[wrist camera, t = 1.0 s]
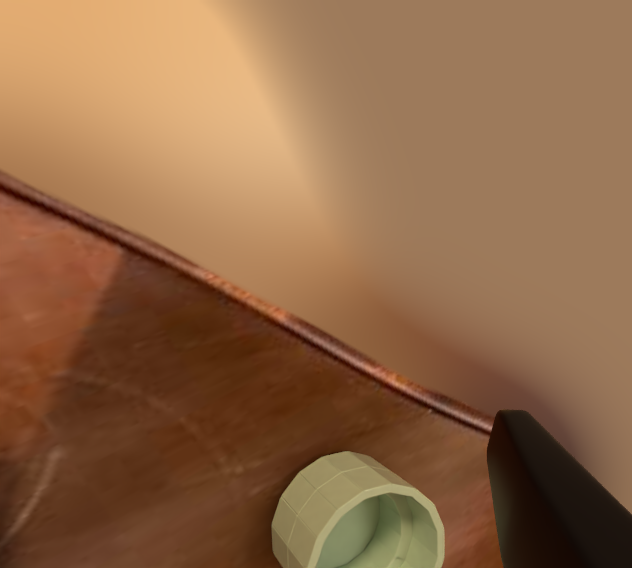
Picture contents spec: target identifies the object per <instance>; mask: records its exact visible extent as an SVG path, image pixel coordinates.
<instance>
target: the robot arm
mask: <svg viewBox="0 0 632 568" xmlns="http://www.w3.org/2000/svg"><path fill="white" fill-rule="evenodd" d="M487 464H488V470H489V477H490V484H491V491H492V498H493V505H494V512H495V519H496V526H497V532H498V539H499V546H500V552H501V558H502V562H503V567H504V568H632V514H631V513H630V512H629V511H628V510H627V509H626V508H625V507H623V506H622V505H621V504H620V503H619V502H618V501H617V500H616V499H615V498H614V497H613V496H612V495H611V494H610V493H609V492H608V491H607V490H606V489H605V488H604V487H603V486H602V485H601V484H600V483H599V482H598V481H597V480H596V479H595V478H594V477H593V476H592V475H591V474H590V473H589V472H588V471H587V470H586V469H585V468H584V467H583V466H582V465H581V464H580V463H579V462H578V461H577V460H576V459H575V458H574V457H573V456H572V455H571V454H570V453H569V452H568V451H567V450H566V449H565V448H564V447H563V446H562V445H561V444H560V443H559V442H558V441H557V440H556V439H554V437H553V436H552V435H551V434H550V433H549V432H548V431H547V430H545V428H544V427H543V426H541V424H539V422H537V421H536V420H535V419H534V418H533V417H532V416H531V415H530V414H529V413H528V412H526V411H523V410H500V411H498V413H497V414H496V416H495V420H494V424H493V428H492V431H491V435H490V439H489V443H488V447H487Z"/></svg>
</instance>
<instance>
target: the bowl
mask: <svg viewBox="0 0 632 568" xmlns="http://www.w3.org/2000/svg"><path fill="white" fill-rule="evenodd" d="M281 496H282V497H280V500H279V503H278V506H277V509H276V512H275V515H274V518H273V521H272V548H273V552H274V555H275V557H276V559H277V561H278V563H279V565H280V567H281V568H441V567H442V563H443V560H444V556H445V548H444V526H443V524H442V522H441V519H440V517H439V514H438V512H437V510H436V507H435V505H434V503H432V502H431V501H430V500H429V499H428V498H427V497H425V496H424V495H423V494H422V493H421V492H420V491H418V490H417V489H416V488H415V487H413V486H412V485H410V484H409V483H408V482H406V481H405V480H403V479H402V478H400V477H399V476H398V475H396V474H395V473H393V472H392V471H390V470H389V469H387V468H386V467H385V466H383V465H382V464H380V463H379V462H377V461H376V460H375V459H373V458H372V457H370V456H367V455H363V454H359V453H354V452H350V451H345V452H340V453H336V454H331V455H326V456H323V457H321V458H319V459H318V460H316V461H315V462H313V463H312V464H310V465H309V466H307V467H306V468H304V469H303V470H301V471H300V472H299V473H298V474H297V475H296V477H295V478H294V479H293V481H292V482H291V483H290V485H289V486H288V487H287V489H286V490H285V491H284V492H283V494H282V495H281Z"/></svg>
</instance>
